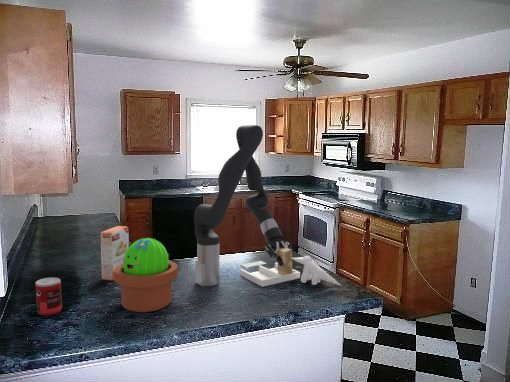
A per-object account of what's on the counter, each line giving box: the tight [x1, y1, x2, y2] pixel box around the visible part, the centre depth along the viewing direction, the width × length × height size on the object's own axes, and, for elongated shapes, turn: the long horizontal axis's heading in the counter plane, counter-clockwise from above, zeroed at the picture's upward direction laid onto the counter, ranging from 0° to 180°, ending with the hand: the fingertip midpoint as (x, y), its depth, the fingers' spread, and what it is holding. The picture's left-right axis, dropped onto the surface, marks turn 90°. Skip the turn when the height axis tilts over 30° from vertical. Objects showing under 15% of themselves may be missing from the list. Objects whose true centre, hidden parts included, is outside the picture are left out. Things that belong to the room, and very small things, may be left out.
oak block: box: [278, 248, 293, 275], centre depth 178 cm, size 4×4×11 cm
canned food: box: [35, 276, 63, 317], centre depth 143 cm, size 8×8×11 cm
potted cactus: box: [113, 237, 179, 313], centre depth 150 cm, size 22×22×25 cm
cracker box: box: [100, 225, 130, 281], centre depth 181 cm, size 14×6×21 cm, turn 168°
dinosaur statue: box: [292, 255, 341, 286], centre depth 172 cm, size 7×24×11 cm, turn 56°
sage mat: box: [240, 260, 267, 269], centre depth 196 cm, size 12×12×1 cm
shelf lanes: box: [239, 261, 301, 287], centre depth 180 cm, size 20×17×4 cm
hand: (287, 264), depth 177 cm, fingers closed on oak block, 4 cm apart
